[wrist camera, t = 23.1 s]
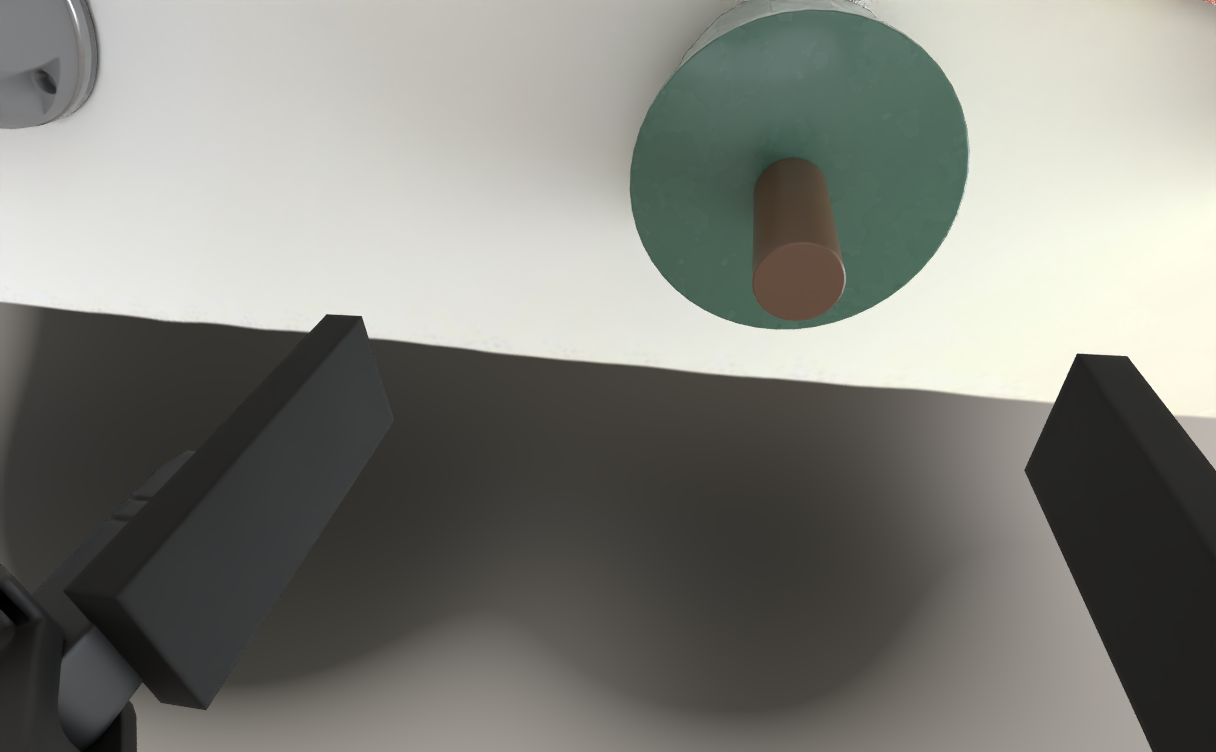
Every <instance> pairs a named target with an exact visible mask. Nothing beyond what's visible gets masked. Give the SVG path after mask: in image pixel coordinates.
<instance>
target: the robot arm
mask: <svg viewBox="0 0 1216 752" xmlns="http://www.w3.org/2000/svg"><path fill="white" fill-rule="evenodd" d="M96 69H97V47H96V39H95V33H94V28H93V24H92V20H91V17H90V13H89V10H88V7H87V4H86V1H85V0H0V128H4V129H16V128H26V127H32V126H39V125H43V124H46V123H49V122H52V121H55V120H58V119H61V118H63V117H66V116H68V115H70V114H72V113H73V112H75V111H76V110H77V109H78V108H80V107H81V106H82V104H83V103H84V102H85V101H86V99H87V98H88V96H89V94H90V92H91V90H92V87H93V85H94V81H95V76H96ZM393 421H394V418H393V415H392V412H391V409H390V405H389V402H388V399H387V396H386V392H385V389H384V386H383V383H382V380H381V376H380V373H379V370H378V367H377V364H376V360H375V357H374V354H373V351H372V348H371V344H370V341H369V338H368V335H367V332H366V328H365V325H364V322H363V319H362V316H349V315H329V314H327V315H326V316H325V317H324V318H323V319H322V320H321V321H320V322H319V323H318V324H317V325H316V326H315V327H314V328H313V329H312V330H311V332H310V333H309V334H308V335H307V336H306V337H305V338H304V339H303V340H302V341H301V342H300V343H299V344H298V345H297V346H296V347H295V348H294V349H293V350H292V351H291V353H290V354H289V355H288V356H287V357H286V358H285V359H284V360H283V361H282V362H281V363H280V364H279V365H278V366H277V367H276V368H275V369H274V370H273V371H272V372H271V374H269V376H268V377H267V378H266V379H265V380H264V381H263V382H262V383H261V384H260V385H259V386H258V387H257V388H256V389H255V390H254V391H253V392H252V393H251V394H250V395H249V396H248V398H246V400H245V401H244V402H243V403H242V404H241V405H240V406H239V407H238V408H237V409H236V410H235V411H234V412H233V413H232V414H231V415H230V416H229V417H228V418H227V420H226V421H225V422H224V423H223V424H222V425H221V426H220V427H219V428H218V429H217V430H216V431H215V432H214V433H213V434H212V435H211V436H210V437H209V438H208V440H206V441H205V442H204V444H203V445H202V446H201V447H200V448H199V449H198V450H197V451H196V452H195V451H185V452H184V453H182V454H181V455H179V456H177V457H176V458H174V459H173V460H171V461H169V462H168V463H167V464H165V465H163V466H162V467H160V468H159V469H157V470H155V471H154V472H153V473H152V474H151V475H150V476H149V477H148V478H147V479H146V480H145V481H144V483H142V484H141V485H140V486H139V487H138V488H137V489H136V491H134V492H133V494H131V496H132V497H131V499H130V500H126V501H124V503H123V504H122V505H121V506H120V507H119V508H118V509H117V510H116V511H115V512H114V513H113V514H112V518H111V519H110V520H106V521H105V522H104V523H103V524H102V525H101V526H100V527H99V528H98V529H97V530H96V531H95V532H94V533H93V534H92V535H91V536H90V537H89V538H88V539H87V540H86V541H85V542H84V543H83V544H82V545H81V546H80V547H79V548H78V549H77V550H76V551H75V552H74V553H73V554H72V555H71V556H70V557H69V558H68V559H67V560H66V561H65V562H64V563H63V564H62V565H61V566H60V567H59V568H58V569H57V570H56V571H55V572H54V573H53V574H52V575H51V576H50V577H49V578H48V579H47V580H46V581H45V582H44V583H43V584H42V585H41V586H40V587H39V588H38V589H37V590H36V591H35V592H34V593H33V594H32V595H31V594H30V593H29V592H28V591H27V590H26V589H25V588H24V587H23V586H22V585H21V584H20V582H19V581H18V580H17V579H16V578H15V577H14V576H13V575H12V574H11V573H10V572H9V571H8V569H7V568H6V567H4V566H3V565H1V564H0V752H137V731H136V730H137V727H136V713H135V710H134V707H133V704H132V703H131V702H130V701H129V699H130V698H131V697H132V695H133V694H134V693H135V691H136V690H137V689H138V687H139V686H140V684H141V683H142V682H143V683H144V684H145V685H146V686H147V687H148V688H149V690H150V691H151V692H152V693H153V694H154V695H155V697H156V698H157V699H158V700H159V701H160V702H161V703H166V704H172V705H178V706H184V707H190V708H196V709H203V710H207V708H208V707H209V705H210V703H211V702H212V700H213V699H214V697H215V696H216V694H217V693H218V691H219V690H220V688H221V687H222V685H223V683H224V682H225V680H226V679H227V677H228V676H229V674H230V673H231V671H232V670H233V668H234V667H235V665H236V663H237V662H238V660H239V659H240V657H241V656H242V654H243V652H244V651H245V649H246V648H247V646H248V645H249V643H250V642H251V640H252V639H253V637H254V635H255V634H256V632H257V631H258V630H259V628H260V626H261V625H262V623H263V622H264V620H265V619H266V617H267V616H268V614H269V613H270V611H271V609H272V608H273V606H274V605H275V603H276V602H277V600H278V599H279V597H280V596H281V594H282V593H283V591H284V589H285V588H286V586H287V585H288V583H289V582H290V580H291V579H292V577H293V576H294V574H295V573H296V571H297V569H298V568H299V566H300V565H301V563H302V562H303V560H304V559H305V557H306V556H307V554H308V552H309V551H310V549H311V548H312V546H313V545H314V543H315V542H316V540H317V539H318V537H319V536H320V534H321V532H322V531H323V529H324V528H325V526H326V525H327V523H328V522H329V520H330V518H331V517H332V515H333V514H334V512H335V511H336V509H337V508H338V506H339V505H340V503H341V501H342V500H343V498H344V497H345V495H346V494H347V492H348V491H349V489H350V488H351V486H352V485H353V483H354V482H355V480H356V479H357V477H358V475H359V474H360V472H361V471H362V469H363V468H364V466H365V465H366V463H367V461H368V460H369V458H370V457H371V455H372V454H373V452H374V451H375V449H376V448H377V446H378V445H379V443H380V442H381V440H382V438H383V437H384V435H385V434H386V432H387V431H388V429H389V428H390V426H391V425H392V423H393ZM1025 473H1026V475H1027V477H1028V479H1029V482H1030V484H1031V486H1032V488H1033V490H1034V492H1035V495H1036V497H1037V499H1038V501H1039V503H1040V505H1041V508H1042V510H1043V512H1044V514H1045V516H1046V519H1047V521H1048V523H1049V525H1050V527H1051V530H1052V532H1053V534H1054V536H1055V539H1056V541H1057V543H1058V545H1059V547H1060V550H1061V552H1062V554H1063V556H1064V558H1065V561H1066V562H1067V565H1068V567H1069V569H1070V572H1071V574H1072V576H1073V578H1074V580H1075V583H1076V585H1077V587H1078V589H1079V591H1080V593H1081V596H1082V598H1083V600H1084V602H1085V604H1086V607H1087V609H1088V611H1089V613H1090V615H1091V618H1092V620H1093V622H1094V624H1095V626H1096V629H1097V631H1098V633H1099V635H1100V637H1101V639H1102V641H1103V644H1104V646H1105V648H1106V650H1107V653H1108V655H1109V657H1110V659H1111V662H1112V664H1113V666H1114V668H1115V670H1116V673H1117V675H1118V677H1119V679H1120V681H1121V683H1122V686H1123V688H1124V690H1125V692H1126V694H1127V697H1128V699H1129V701H1130V703H1131V705H1132V708H1133V710H1134V712H1135V714H1136V716H1137V719H1138V721H1139V723H1140V725H1141V727H1142V729H1143V732H1144V734H1145V736H1146V738H1147V741H1148V743H1149V745H1150V747H1151V749H1152V752H1216V471H1215V469H1214V468H1213V466H1212V465H1211V464H1210V463H1209V461H1208V460H1207V459H1206V458H1205V456H1204V455H1203V454H1202V452H1201V451H1200V450H1199V448H1198V447H1197V446H1196V445H1195V443H1194V442H1193V441H1192V440H1191V438H1190V437H1189V435H1188V434H1187V433H1186V432H1185V430H1184V429H1183V428H1182V426H1181V425H1180V424H1179V423H1178V421H1177V420H1176V419H1175V417H1174V416H1173V415H1172V413H1171V412H1170V411H1169V410H1168V408H1167V407H1166V406H1165V404H1164V403H1163V402H1162V401H1161V399H1160V398H1159V397H1158V395H1157V394H1156V393H1155V392H1154V390H1153V389H1152V388H1151V386H1150V385H1149V384H1148V382H1147V381H1146V380H1145V379H1144V377H1143V376H1142V375H1141V373H1140V372H1139V371H1138V370H1137V368H1136V367H1135V366H1134V364H1133V363H1132V362H1131V361H1130V359H1129V358H1128V357H1127V356H1112V355H1093V354H1077V355H1076V357H1075V359H1074V362H1073V364H1072V366H1071V368H1070V370H1069V373H1068V375H1067V377H1066V379H1065V381H1064V384H1063V386H1062V388H1061V390H1060V393H1059V395H1058V397H1057V399H1056V401H1055V404H1054V406H1053V408H1052V411H1051V412H1050V415H1049V417H1048V419H1047V421H1046V424H1045V426H1044V428H1043V430H1042V433H1041V435H1040V437H1039V439H1038V441H1037V443H1036V446H1035V448H1034V450H1033V452H1032V455H1031V457H1030V459H1029V461H1028V464H1027V466H1026V468H1025Z"/></svg>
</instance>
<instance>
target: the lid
mask: <svg viewBox="0 0 1216 752" xmlns="http://www.w3.org/2000/svg"><path fill="white" fill-rule="evenodd" d="M968 170H969V141H968V131H967V125H966V122H965V118H964V114H963V110H962V107H961V104H960V102H959V100H958V97H957V95H956V93H955V91H954V89H953V86H952V85H951V83H950V82H949V80H948V78H947V77H946V75H945V74H944V72H943V71H942V69H941V68H940V66H939V65H938V64H937V63H936V62H935V61H934V60H933V59H932V58H931V57H930V56H929V55H928V53H927V52H926V51H925V50H924V49H923V48H922V47H921V46H920V45H918V44H917V43H916V42H914V41H913V40H912V39H911V38H909V37H908V36H907V35H905V34H904V33H903V32H901V31H899V30H897V29H895V28H894V27H892V26H890V25H888V24H886V23H884V22H882V21H880V20H877V19H874V18H871V17H869V16H866V15H863V14H860V13H856V12H851V11H845V10H840V9H835V8H811V7H808V8H799V9H789V10H782V11H778V12H774V13H770V14H766V15H762V16H758V17H756V18H753V19H751V20H748V21H746V22H743V23H741V24H738V25H736V26H734V27H732V28H730V29H728V30H727V31H725V32H723V33H721V34H719V35H718V36H716V37H714V38H713V39H711V40H710V41H709V42H707V43H706V44H705V45H703V46H702V47H700V48H699V49H698V50H696V51H695V52H694V53H693V54H692V55H691V56H690V57H689V58H688V59H687V60H685V61H684V62H683V63H682V64H681V65H680V66H679V67H678V68H677V69H676V70H675V72H674V73H673V74H672V75H671V77H670V78H669V79H668V80H667V82H666V83H665V84H664V85H663V87H662V88H661V90H660V91H659V93H658V95H657V96H656V98H655V99H654V101H653V103H652V104H651V106H650V108H649V110H648V112H647V115H646V117H645V119H644V121H643V124H642V126H641V128H640V131H639V134H638V137H637V141H636V144H635V147H634V151H633V157H632V164H631V170H630V196H631V206H632V212H633V216H634V220H635V224H636V228H637V231H638V233H639V236H640V238H641V241H642V244H643V246H644V248H645V250H646V251H647V253H648V255H649V257H650V259H651V260H652V262H653V263H654V265H655V266H656V267H657V269H658V270H659V271H660V273H661V274H662V276H663V277H664V278H665V279H666V280H667V281H668V282H669V283H670V284H671V285H672V286H673V287H674V288H675V289H676V290H677V291H678V292H680V293H681V294H682V295H683V296H684V297H686V298H687V299H688V300H689V301H691V302H693V303H694V304H696V305H697V306H699V307H701V308H702V309H704V310H706V311H708V312H710V313H712V314H714V315H716V316H718V317H721V318H723V319H726V320H729V321H732V322H735V323H738V324H743V325H748V326H752V327H757V328H767V329H801V328H809V327H816V326H820V325H825V324H829V323H834V322H837V321H840V320H843V319H846V318H849V317H852V316H854V315H856V314H858V313H860V312H863V311H865V310H867V309H869V308H871V307H873V306H875V305H876V304H878V303H880V302H881V301H883V300H885V299H886V298H888V297H890V296H891V295H892V294H894V293H895V292H896V291H898V290H899V289H900V288H902V287H903V286H904V285H906V284H907V283H908V282H909V281H910V280H911V279H912V278H913V277H914V276H915V275H916V274H917V273H918V272H919V271H920V270H921V269H922V268H923V267H924V266H925V265H926V264H927V262H928V261H929V260H930V259H931V258H932V256H933V255H934V254H935V253H936V251H937V250H938V248H939V247H940V245H941V244H942V242H943V241H944V239H945V238H946V236H947V234H948V232H949V230H950V228H951V226H952V224H953V222H954V220H955V218H956V216H957V214H958V211H959V208H960V205H961V202H962V199H963V196H964V192H965V187H966V182H967V177H968Z"/></svg>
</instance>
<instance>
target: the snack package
mask: <svg viewBox="0 0 1216 752" xmlns="http://www.w3.org/2000/svg"><path fill="white" fill-rule="evenodd" d="M1204 1H1207V2H1209V3H1212V4H1215V5H1216V0H1204Z"/></svg>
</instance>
